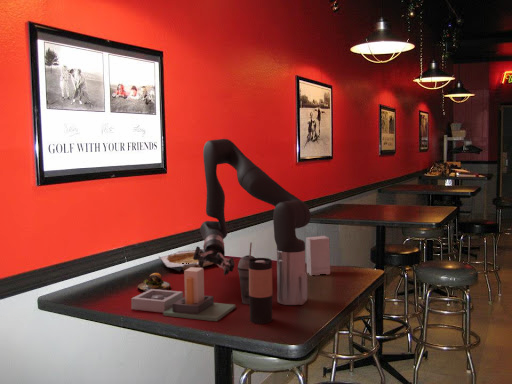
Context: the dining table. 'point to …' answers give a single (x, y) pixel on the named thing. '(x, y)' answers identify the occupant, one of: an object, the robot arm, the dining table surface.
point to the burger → (154, 283)
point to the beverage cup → (244, 276)
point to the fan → (155, 300)
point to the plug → (194, 285)
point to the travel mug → (260, 290)
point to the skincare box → (318, 255)
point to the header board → (199, 309)
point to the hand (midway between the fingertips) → (214, 268)
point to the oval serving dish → (182, 260)
